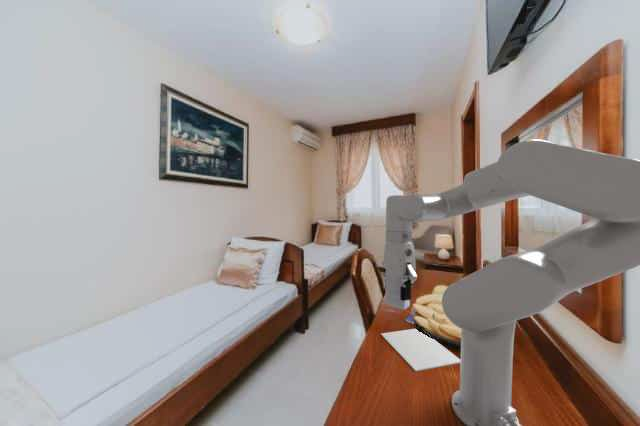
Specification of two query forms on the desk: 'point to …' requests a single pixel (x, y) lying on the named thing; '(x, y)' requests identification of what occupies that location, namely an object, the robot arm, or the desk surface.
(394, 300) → the skincare box
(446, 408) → the desk surface
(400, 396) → the desk surface
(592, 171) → the robot arm
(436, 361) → the white mat
